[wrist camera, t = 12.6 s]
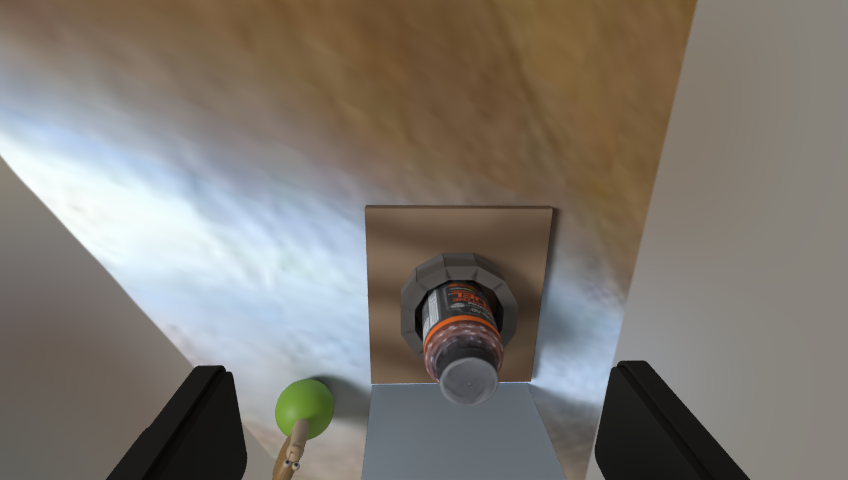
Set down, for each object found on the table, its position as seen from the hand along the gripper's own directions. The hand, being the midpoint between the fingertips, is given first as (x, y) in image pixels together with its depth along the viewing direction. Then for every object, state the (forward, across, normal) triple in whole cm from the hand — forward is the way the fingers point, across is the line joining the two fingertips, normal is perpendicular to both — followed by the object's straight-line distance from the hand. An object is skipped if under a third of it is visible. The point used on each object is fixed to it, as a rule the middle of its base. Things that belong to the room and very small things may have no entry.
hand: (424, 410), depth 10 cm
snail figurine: (+26, +10, +21) cm, 35 cm away
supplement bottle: (+26, -4, +11) cm, 28 cm away
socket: (+26, -4, +11) cm, 29 cm away
